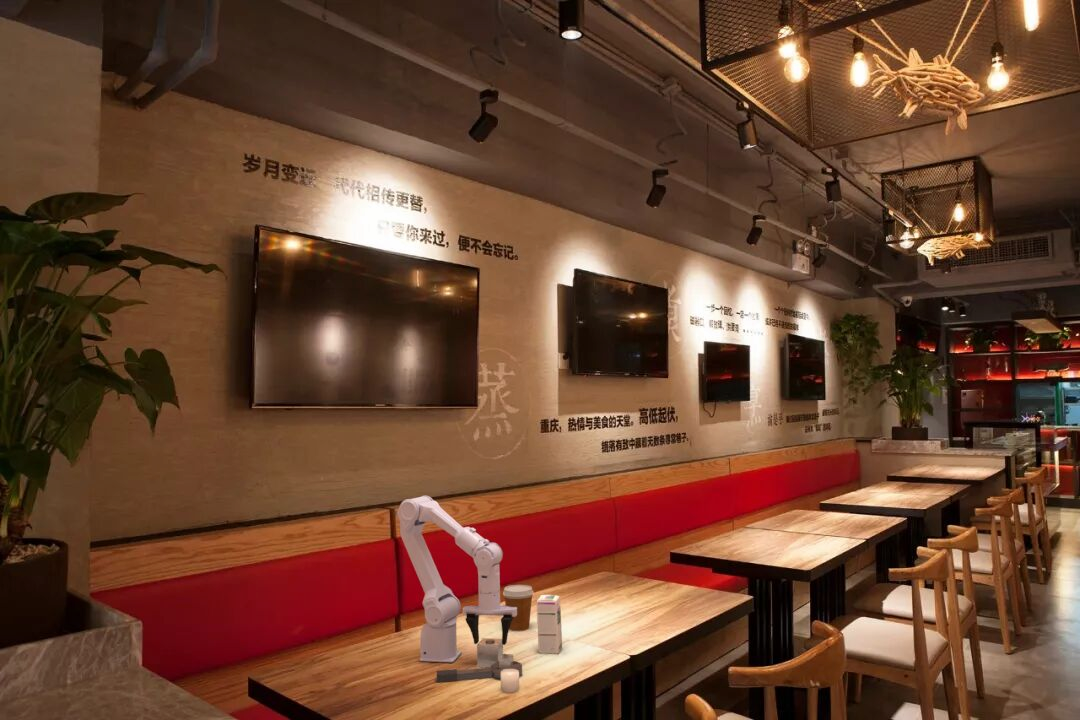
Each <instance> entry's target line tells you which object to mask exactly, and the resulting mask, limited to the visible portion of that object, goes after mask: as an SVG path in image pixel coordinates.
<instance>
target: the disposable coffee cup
mask: <svg viewBox="0 0 1080 720" xmlns="http://www.w3.org/2000/svg"><path fill="white" fill-rule="evenodd" d="M502 595H503V597H504V603H505V606H507V607H517V615H516V617H513V620H512V622H511V625H510V628H509V630H510V631H515V632H521V631H522V632H523V631H526V630H528V629H529V628H530V621H531V612H532V611H531V609H532V603H533V602H532V601H533V595H534V590H533V587H532V586H531V585H527V584H513V585H508V586H505V587H504V589H503V592H502Z"/></svg>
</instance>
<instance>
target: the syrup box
mask: <svg viewBox="0 0 1080 720" xmlns="http://www.w3.org/2000/svg"><path fill="white" fill-rule="evenodd" d="M561 611H562V610H561V596H560V595H559V594H542V595H541V594H540V597H538V598H537V600H536V616H537V617H536V618H537V619H536V621H537V643H538V645H537V646H538V653H539V654H545V653H549V654H548V655H550V654H551V655H558V653H559V654H560V652H561V650H562V648H563V638H562V637H563V635H562V614H561V613H562V612H561ZM552 653H553V654H552Z"/></svg>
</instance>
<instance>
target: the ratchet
mask: <svg viewBox="0 0 1080 720" xmlns="http://www.w3.org/2000/svg"><path fill="white" fill-rule="evenodd" d="M505 669H516V670H518V671H519V678H521V677H522V676H523V664H522V663H521V662H519V661H514V653H513V654H511V653H510V654H509V653H503V654H501V656H500V657H499V662H496V663H494V664H492V665H491V667H477V668H470V669H469V668H467V669H457V668H455V669H443V670H436V683H448V682H450V683H451V682H459V681H467V680H469V681H470V680H478V679H479V680H480V679H490V678H492V679H494V680H497V681H501V671H502V670H505Z"/></svg>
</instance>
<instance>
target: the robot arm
mask: <svg viewBox="0 0 1080 720" xmlns="http://www.w3.org/2000/svg"><path fill="white" fill-rule="evenodd" d="M396 515H397V518H398V520H399V533H400V537H401V539H402V542H403V545H404V547H405V549H406V552H407V554H408V557H409V559H410V561H411V563H412V565H413V568H414V571H415V573H416V575H417V578H418V580H419V582H420V585H421V587H422V589H423V592H424V597H423V600H422V606H423V608H424V618H425V621H426V622H427V623H424V624H423V625H422V627H421V629H420V638H419V639H420V644H419V645H420V658H419V661H420V662H434V663H454V662H455V661H456V660H457V659H458V658H459V656H461V654H462V650H457V649H458V648H457V647H458V646H457V622H458V621H457V620H458V619H457V617H458V616H459V614H460V613H461V610H462V616H464V617H465V616H466V617H465V623H466V624H467V626H468V628H469V630H470V632H471V636H472V639H473V644H474V645H478V643H479V642H480V633H479V632H480V630H479V624H480V622H479V620H480V616H499V617H501V616H502V617H501V619H500V623H501V632H502V633H501V639H502V645H503V646H505V645H506V644H507V643H508V642H507V641H508V634H509V630H510V629H509V628H510V625H511V622H512V620H513V617H516V615H517V607H507V606H506V605H501V584H500V583H501V580H500V578H501V577H500V575H501V574H500V563H501V561H502V560H503V555H504V552H503V550H502V548H501V546H500V545H499V544H498V543H496V542H490V540H489V539H487V538H484V537H483V536H481V535H480V534H479V533H477V532H476V531H477V529H476V528H474V527H470V526H465V527H464V526H462V525H461V524H459V522H457V521H456V520H455V519H454V518H453V517H452V516H451V515H449V514H448V513H447V511H445V510H444V509H443V508H442V507H441V506H440V504H439V503H438V501H436V500H434V499H433V498H432V497H430V496H429V495H421V496H420V497H413V498H408V499H404V500H403V501H401V503H400V504H399V507H398V509H397V512H396ZM427 522H428V523H429V522H432V523H434V524H435V525H436V526H438V527H439V528H440V529H442V530H444V531H445V532H446V533H448V534H450V535H451V536H452V537H454V541H455V545H457V546H458V547H459V548H460V549H461V550H463V551H464V552H465V553H466V554H467V555H469V556H470V557H472V558H473V562H474V564H475V567H476V568H477V574H478V577H477V579H478V583H477V584H478V605H465V606H463V607H461V606H462V605H461V602H460V599H458V597H456V596H455V595H454V593H453V591H452V589H451V588H449V587H448V586H447V585H445V584H444V583H443V580H442V578H441V576H440V573H439V571H438V569H437V565H436V564H435V562H434V559H433V557H432V554H431V552H430V550H429V548H428V546H427V543H426V540H425V539H424V536H423V534H422V532H423V530H424V527H425V525H426V523H427ZM461 608H462V609H461Z"/></svg>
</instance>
